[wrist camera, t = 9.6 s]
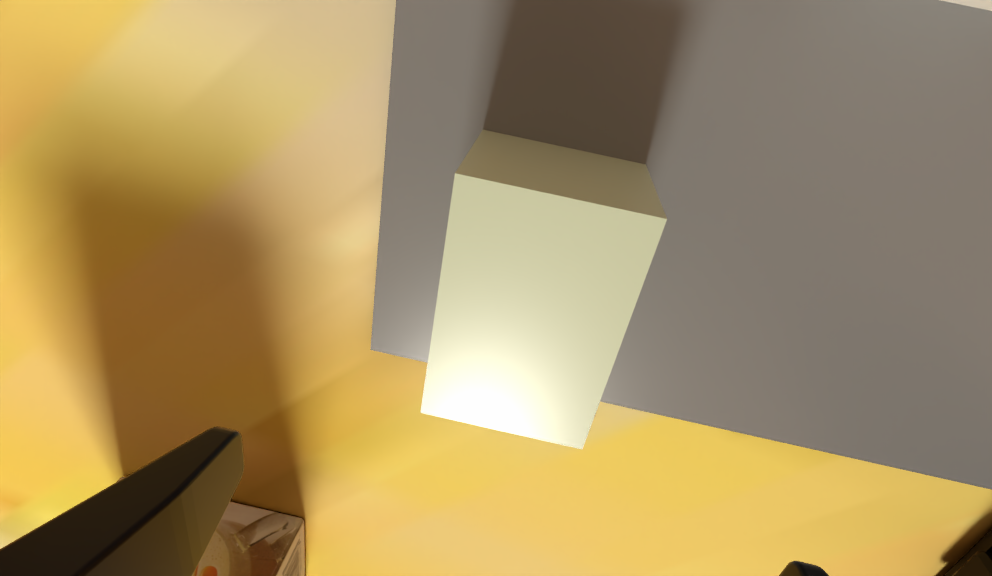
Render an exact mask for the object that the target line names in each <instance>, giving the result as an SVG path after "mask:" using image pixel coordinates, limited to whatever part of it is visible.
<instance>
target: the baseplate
mask: <svg viewBox="0 0 992 576" xmlns="http://www.w3.org/2000/svg"><path fill="white" fill-rule="evenodd" d="M482 130H487V131H492V132H497V133H501V134H506V135H511V136H515V137H520V138H525V139H529V140H534V141H539V142H543V143H548V144H553V145H557V146H562V147H567V148H571V149H576V150H581V151H585V152H590V153H595V154H599V155H604V156H609V157H613V158H618V159H623V160H627V161H632V162H637V163H641V164H646V166H647V169H648V171H649V174H650V177H651V179H652V182H653V184H654V187H655V189H656V192H657V194H658V197H659V200H660V202H661V205H662V207H663V210H664V212H665V215H666V217H667V221H666V224H665V226H664V229H663V232H662V235H661V237H660V240H659V243H658V245H657V248H656V251H655V254H654V256H653V259H652V262H651V264H650V267H649V270H648V273H647V275H646V278H645V281H644V283H643V286H642V289H641V292H640V294H639V297H638V300H637V302H636V305H635V308H634V311H633V313H632V316H631V319H630V321H629V324H628V327H627V329H626V332H625V335H624V338H623V340H622V343H621V346H620V348H619V351H618V354H617V357H616V359H615V362H614V365H613V367H612V370H611V373H610V376H609V378H608V381H607V384H606V386H605V389H604V392H603V395H602V397H601V400H600V401H601V402H605V403H610V404H614V405H618V406H623V407H627V408H632V409H636V410H641V411H645V412H650V413H654V414H659V415H663V416H667V417H672V418H676V419H681V420H685V421H690V422H694V423H699V424H703V425H707V426H712V427H716V428H721V429H725V430H730V431H734V432H739V433H743V434H747V435H752V436H756V437H761V438H765V439H770V440H774V441H779V442H783V443H788V444H792V445H796V446H801V447H805V448H810V449H814V450H819V451H823V452H828V453H832V454H836V455H841V456H845V457H850V458H854V459H859V460H863V461H868V462H872V463H876V464H881V465H885V466H890V467H894V468H899V469H903V470H908V471H912V472H917V473H921V474H925V475H930V476H934V477H939V478H943V479H948V480H952V481H957V482H961V483H965V484H970V485H974V486H979V487H983V488H988V489H992V0H396V12H395V25H394V39H393V52H392V66H391V80H390V93H389V107H388V120H387V134H386V148H385V161H384V175H383V188H382V202H381V216H380V229H379V243H378V256H377V270H376V284H375V297H374V311H373V324H372V338H371V350H374V351H378V352H383V353H387V354H392V355H396V356H400V357H405V358H409V359H414V360H418V361H423V362H427V363H428V358H429V351H430V344H431V337H432V330H433V323H434V316H435V309H436V302H437V295H438V288H439V281H440V274H441V267H442V260H443V253H444V246H445V239H446V232H447V225H448V218H449V211H450V204H451V197H452V190H453V183H454V177H455V172H456V171H457V169H458V168H459V166H460V165H461V163H462V161H463V160H464V158H465V157H466V155H467V154H468V152H469V150H470V149H471V147H472V146H473V144H474V143H475V141H476V140H477V138H478V136H479V135H480V133H481V132H482Z"/></svg>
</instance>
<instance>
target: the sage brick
mask: <svg viewBox="0 0 992 576" xmlns="http://www.w3.org/2000/svg"><path fill="white" fill-rule="evenodd" d="M666 221H667V217H666V215H665V212H664V210H663V207H662V205H661V202H660V200H659V197H658V194H657V192H656V189H655V187H654V184H653V182H652V179H651V177H650V174H649V171H648V169H647V166H646V164H641V163H637V162H632V161H627V160H623V159H618V158H613V157H609V156H604V155H599V154H595V153H590V152H585V151H581V150H576V149H571V148H567V147H562V146H557V145H553V144H548V143H543V142H539V141H534V140H529V139H525V138H520V137H515V136H511V135H506V134H501V133H497V132H492V131H487V130H482V132H481V133H480V135H479V136H478V138H477V140H476V141H475V143H474V144H473V146H472V147H471V149H470V150H469V152H468V154H467V155H466V157H465V158H464V160H463V161H462V163H461V165H460V166H459V168H458V169H457V171H456V172H455V177H454V183H453V190H452V197H451V204H450V211H449V218H448V225H447V232H446V239H445V246H444V253H443V260H442V267H441V274H440V281H439V288H438V295H437V302H436V309H435V316H434V323H433V330H432V337H431V344H430V351H429V358H428V365H427V372H426V378H425V385H424V392H423V399H422V406H421V413H424V414H428V415H433V416H437V417H442V418H446V419H450V420H455V421H459V422H464V423H468V424H472V425H477V426H481V427H486V428H490V429H495V430H499V431H503V432H508V433H512V434H517V435H521V436H525V437H530V438H534V439H539V440H543V441H547V442H552V443H556V444H561V445H565V446H569V447H574V448H578V449H583V446H584V443H585V441H586V438H587V435H588V433H589V430H590V427H591V424H592V422H593V419H594V416H595V414H596V411H597V408H598V405H599V403H600V400H601V397H602V395H603V392H604V389H605V386H606V384H607V381H608V378H609V376H610V373H611V370H612V367H613V365H614V362H615V359H616V357H617V354H618V351H619V348H620V346H621V343H622V340H623V338H624V335H625V332H626V329H627V327H628V324H629V321H630V319H631V316H632V313H633V311H634V308H635V305H636V302H637V300H638V297H639V294H640V292H641V289H642V286H643V283H644V281H645V278H646V275H647V273H648V270H649V267H650V264H651V262H652V259H653V256H654V254H655V251H656V248H657V245H658V243H659V240H660V237H661V235H662V232H663V229H664V226H665V224H666Z"/></svg>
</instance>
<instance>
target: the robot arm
mask: <svg viewBox="0 0 992 576" xmlns="http://www.w3.org/2000/svg"><path fill="white" fill-rule="evenodd" d="M243 472H244V454H243V443H242V436H241V434H240V433H239V432H238V431H236V430H231V429H227V428H223V427H213V428H211V429H209V430H207V431H205V432H203V433H202V434H200V435H198V436H196V437H195V438H193V439H191V440H189V441H188V442H186V443H184V444H182V445H181V446H179V447H177V448H175V449H174V450H172V451H170V452H168V453H167V454H165V455H163V456H162V457H160V458H158V459H156V460H155V461H153V462H151V463H149V464H148V465H146V466H144V467H142V468H141V469H139V470H137V471H135V472H134V473H132V474H130V475H128V476H127V477H125V478H123V479H121V480H120V481H118V482H116V483H115V484H113V485H111V486H109V487H108V488H106V489H104V490H102V491H101V492H99V493H97V494H95V495H94V496H92V497H90V498H88V499H87V500H85V501H83V502H81V503H80V504H78V505H76V506H74V507H73V508H71V509H69V510H68V511H66V512H64V513H62V514H61V515H59V516H57V517H55V518H54V519H52V520H50V521H48V522H47V523H45V524H43V525H41V526H40V527H38V528H36V529H34V530H33V531H31V532H29V533H28V534H26V535H24V536H22V537H21V538H19V539H17V540H15V541H14V542H12V543H10V544H8V545H7V546H5V547H3V548H1V549H0V576H192V575H193V573H194V571H195V569H196V568H197V566H198V564H199V562H200V560H201V558H202V556H203V554H204V552H205V550H206V548H207V546H208V544H209V542H210V540H211V538H212V536H213V534H214V532H215V530H216V528H217V526H218V524H219V522H220V520H221V518H222V516H223V514H224V512H225V510H226V508H227V506H228V504H229V502H230V500H231V498H232V496H233V494H234V492H235V490H236V488H237V486H238V484H239V482H240V480H241V478H242V475H243ZM779 576H829V575H828V574H827V573H826V572H825V571H824V570H823V569H822V568H820V567H818V566H816V565H812V564H808V563H804V562H800V561H792V562H790V563H789V564H788V565H787V566H786V567H785V569H784V570H783V571H782V573H781V574H780V575H779ZM944 576H992V530H991V531H990V532H989V533H988V534H987V535H986V536H985V537H984V538H982V539H981V540H980V541H979V542H978V543H977V544H976V545H975V546H974V547H973V548H972V549H971V550H970V551H969V552H968V553H967V554H966V555H965V556H964V557H963V558H962V559H961V560H960V561H959V562H958V563H957V564H956V565H955V566H954V567H953V568H952V569H950V570H949V571H948V572H947V573H946V574H945V575H944Z"/></svg>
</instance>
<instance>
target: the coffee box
mask: <svg viewBox="0 0 992 576" xmlns="http://www.w3.org/2000/svg"><path fill="white" fill-rule="evenodd" d="M123 478H125V477H122V478H120V479H119V480H118V481H120V480H121V479H123ZM118 481H117V482H118ZM192 576H305V544H304V520H303V519H302V518H299V517H295V516H290V515H286V514H282V513H278V512H273V511H269V510H265V509H260V508H256V507H252V506H247V505H243V504H239V503H234V502H229V504H228V506H227V508H226V510H225V512H224V514H223V516H222V518H221V520H220V522H219V524H218V526H217V528H216V530H215V532H214V534H213V536H212V538H211V540H210V542H209V544H208V546H207V548H206V550H205V552H204V554H203V556H202V558H201V560H200V562H199V564H198V566H197V568H196V569H195V571H194V573H193V575H192Z"/></svg>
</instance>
